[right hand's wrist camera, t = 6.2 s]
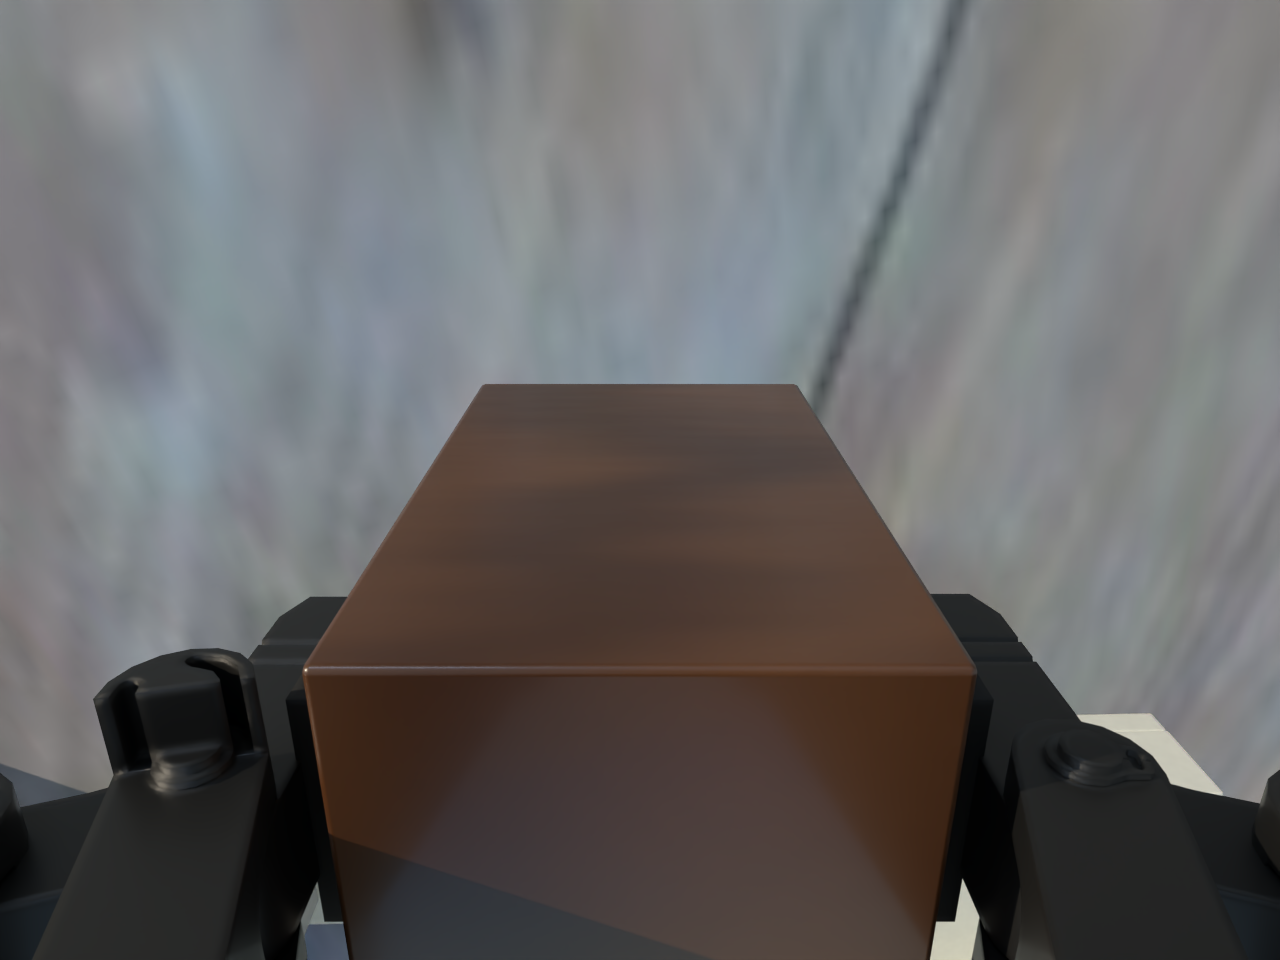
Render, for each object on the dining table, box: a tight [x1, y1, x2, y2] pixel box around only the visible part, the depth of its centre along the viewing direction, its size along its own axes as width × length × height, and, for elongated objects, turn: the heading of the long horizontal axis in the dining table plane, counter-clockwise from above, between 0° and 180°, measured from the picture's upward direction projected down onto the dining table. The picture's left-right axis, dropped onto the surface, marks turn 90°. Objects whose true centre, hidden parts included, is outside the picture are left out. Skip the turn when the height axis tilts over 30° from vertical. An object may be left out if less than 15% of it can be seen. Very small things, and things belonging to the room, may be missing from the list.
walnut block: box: [302, 384, 977, 960], centre depth 11 cm, size 5×5×8 cm
